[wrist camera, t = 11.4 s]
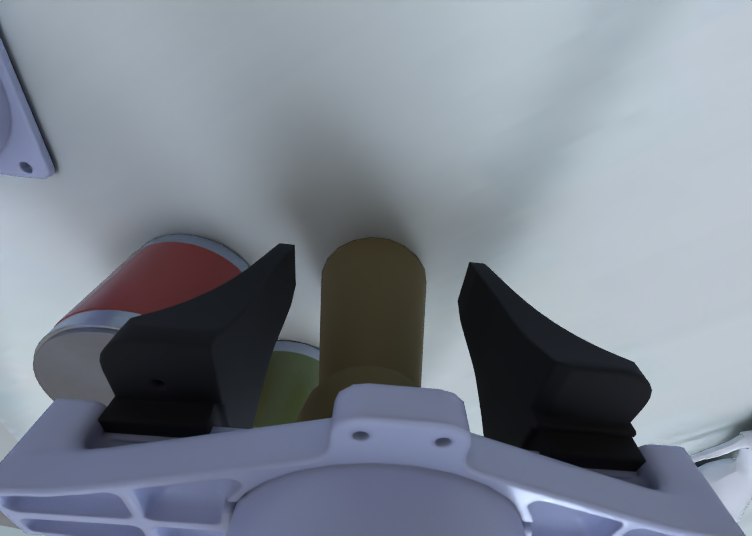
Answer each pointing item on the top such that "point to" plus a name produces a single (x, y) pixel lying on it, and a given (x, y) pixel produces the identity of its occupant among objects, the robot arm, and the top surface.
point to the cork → (368, 321)
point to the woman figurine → (730, 473)
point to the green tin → (287, 383)
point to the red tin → (127, 310)
